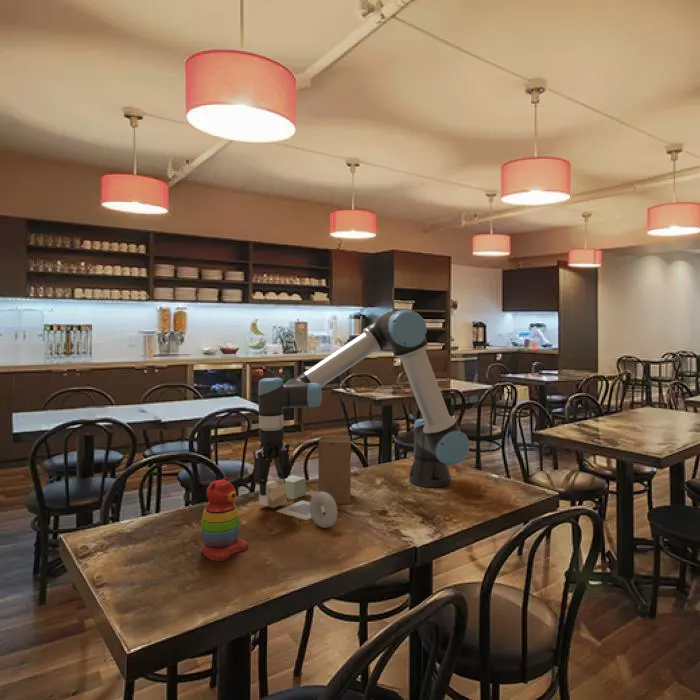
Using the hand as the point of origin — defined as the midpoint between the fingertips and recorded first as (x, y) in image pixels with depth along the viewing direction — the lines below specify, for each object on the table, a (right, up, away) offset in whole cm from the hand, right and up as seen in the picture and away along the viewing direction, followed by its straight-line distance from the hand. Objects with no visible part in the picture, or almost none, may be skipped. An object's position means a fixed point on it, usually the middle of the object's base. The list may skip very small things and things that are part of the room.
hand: (273, 501), depth 162 cm
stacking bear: (-8, -3, -31) cm, 33 cm away
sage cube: (+5, -1, +11) cm, 12 cm away
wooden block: (+19, -2, +8) cm, 21 cm away
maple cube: (0, 0, 0) cm, 0 cm away
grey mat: (+10, -2, -3) cm, 11 cm away
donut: (+16, -3, -16) cm, 23 cm away
